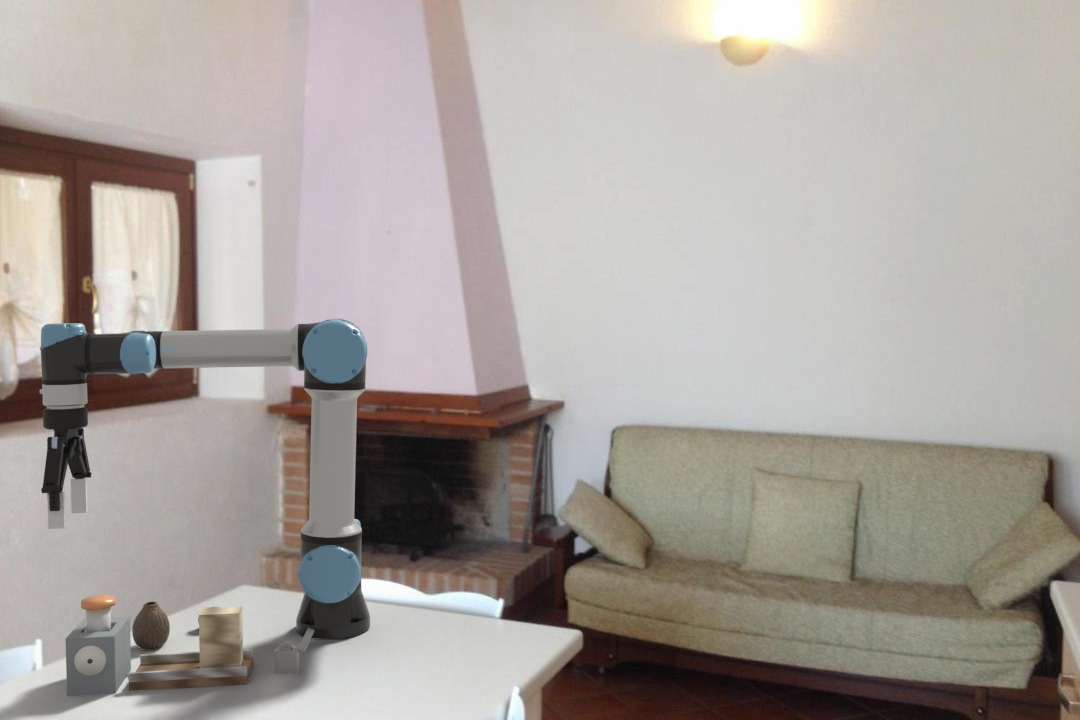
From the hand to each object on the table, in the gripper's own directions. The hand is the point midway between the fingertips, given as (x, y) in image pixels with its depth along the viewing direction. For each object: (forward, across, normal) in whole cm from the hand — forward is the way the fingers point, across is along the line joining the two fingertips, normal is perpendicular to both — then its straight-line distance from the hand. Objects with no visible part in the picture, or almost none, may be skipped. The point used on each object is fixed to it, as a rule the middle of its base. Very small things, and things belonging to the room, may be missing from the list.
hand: (68, 520), depth 186 cm
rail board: (+28, +10, +23) cm, 37 cm away
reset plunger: (+20, +10, +7) cm, 24 cm away
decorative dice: (+28, -18, +22) cm, 40 cm away
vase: (+28, -8, +12) cm, 31 cm away
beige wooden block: (+26, +10, +28) cm, 39 cm away
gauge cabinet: (+27, +10, +7) cm, 30 cm away
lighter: (+28, +10, +41) cm, 51 cm away
